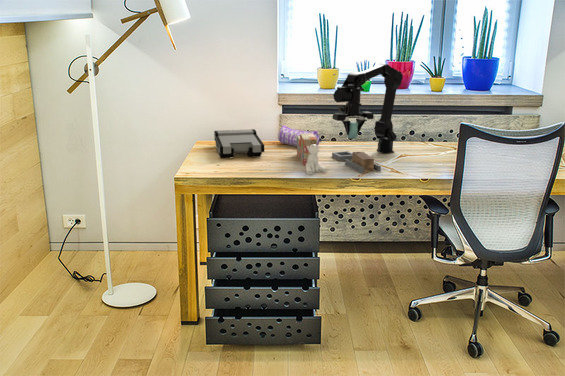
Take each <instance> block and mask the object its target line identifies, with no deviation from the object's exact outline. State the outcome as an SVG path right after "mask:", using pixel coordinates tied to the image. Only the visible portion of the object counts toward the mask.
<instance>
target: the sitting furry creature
mask: <svg viewBox="0 0 565 376" xmlns="http://www.w3.org/2000/svg"><path fill="white" fill-rule="evenodd" d="M306 147H307V149H309V153H310V155H309V156H308V161H307V163H306V165H305V174H306V175H311V174H315V173H316V174H317V173H324V174H326V173H327V168H325V166H322V165H320V164H319V156H318V154H319V152H320V149H319V148H320V145H318V146H317V145H315V144H312V145H310V147H309V146H306Z"/></svg>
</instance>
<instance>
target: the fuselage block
mask: <svg viewBox="0 0 565 376" xmlns="http://www.w3.org/2000/svg"><path fill="white" fill-rule="evenodd" d="M351 153H352V160H351V161H352V162H354V163H356V164H358V165H360V166H362V167H364V173H371V172H372V173H373V172H375V170H374V163H375V158H374V157H372V156H371V155H369V154H367V153H366V152H365V151H352V152H351Z"/></svg>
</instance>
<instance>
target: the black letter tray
mask: <svg viewBox="0 0 565 376" xmlns="http://www.w3.org/2000/svg"><path fill="white" fill-rule="evenodd" d="M213 135H214V136H213V137H214V139H213V140H214V142H215V148H216V151H217V153H218V155H219V154H220V155H219V157H220V159H231V158H230V157H235V154H245V153H246V156H247V157H248V158H254V157H253V156H261V157H262V154H263V153H265V144H264V143H263V141H262V140H261V139H260V137H259V135H258V133H257V131H256V129H253V128H252V129H228V130H227V129H226V130H224V129H223V130H213Z"/></svg>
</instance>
